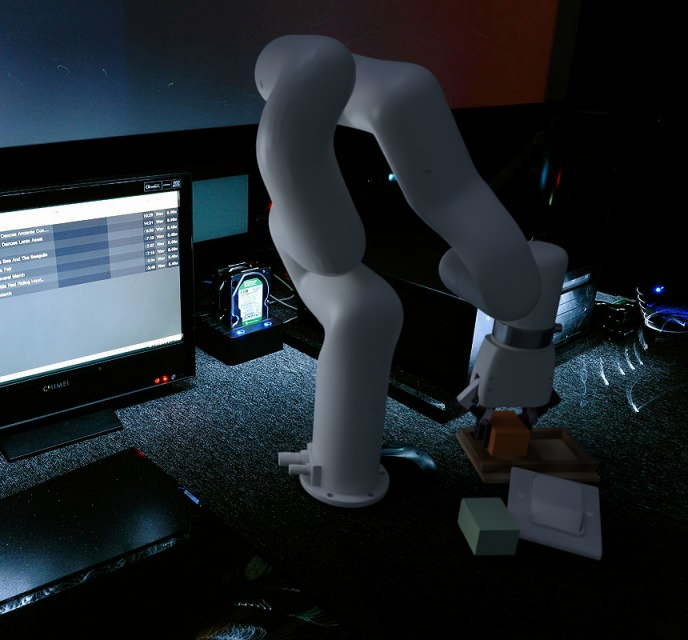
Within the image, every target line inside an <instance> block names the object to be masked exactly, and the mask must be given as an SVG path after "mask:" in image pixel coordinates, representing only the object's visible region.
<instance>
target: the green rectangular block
mask: <svg viewBox="0 0 688 640" xmlns="http://www.w3.org/2000/svg"><path fill="white" fill-rule="evenodd" d="M457 524H458V527H459V528H460V530H461V532H462V534H463V536H464V538H465V540H466V542H467V543H468V546H469V547H470V549H471V551H472V553H473V555H474V556H514V555H516V552H517V547H518V542H519V539H520V538H519V534H520V528H519V526H518V525H517V523H516V522H515V520H514V519H513V517H512V516H511V514H510V512H509V511H508V509H507V506H506V504H505V503H504V501H503V499H502V498H501V497H462V498H461V501H460V507H459V511H458V518H457Z"/></svg>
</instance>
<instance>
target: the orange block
mask: <svg viewBox="0 0 688 640" xmlns="http://www.w3.org/2000/svg"><path fill="white" fill-rule="evenodd" d="M517 415H518V413H516V412H515V410H512V409H509V410H507V409H506V410H503V409H502V410H498V409H497V410H496V409H495V411H494V413H493V415H492V417H491V419H490V421H489V422H490V424H491V425H492V427H491V432H490V437H489V443H488V447H487V450H488V451H489V453H490V454H491V456H526V453H527V448H528V443H529V439H530V434H531V432H530V431H529V430H528V428H527V427H526V426H525V425H524V424H523V422H522V421H521V420H520V419H519V417H518V416H517Z"/></svg>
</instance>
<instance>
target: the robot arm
mask: <svg viewBox="0 0 688 640" xmlns="http://www.w3.org/2000/svg"><path fill="white" fill-rule="evenodd" d="M254 80H255V85H256V88H257V91H258V93H259V94H260V96H261V97H262V99H263V100H264V101H265V104H264V107H263V110H262V112H261V116H260V120H259V124H258V128H257V134H256V142H255V143H256V144H255V150H256V160H257V165H258V168H259V172H260V175H261V178H262V180H263V181H262V182H263V183H264V186H265V187H266V190H267V193H268V195H269V198H270V200H271V202H272V205H271V207H270V210H269V214H268V227H269V232H270V236H271V239H272V241H273V243H274V246H275V248H276V251H277V252H278V255H279V257H280V258H281V260H282V263H283V265H284V267H285V269H286V271H287V273H288V275H289V277H290V279H291V281H292V284H293V285H294V288H295V289H296V291H297V293H298V295H299V297H300V299H301V300H302V302H303V303H304V305H305V306H306V308H307V309H308V310H309V311H310V312H311V313H312V314H313V316H314V317H316V319H317V320H318V322H319V323H320V324H321V325H322V327H323V329H324V339H323V344H322V347H321V350H320V351H319V355H318V357H317V358H318V359H317V362H316V363H317V365H316V373H315V391H314V392H315V393H314V394H315V395H314V408H313V410H314V411H313V426H312V442H307V444H306V449H300V451H299V452H291V451H289V452H288V451H284V452H283V451H282V452H281V451H280V452H278V455H277V457H278V466H280V467H288V475H289V476H290V475H291V476H292V475H294V476H295V475H297V476H298V475H299V481H300V484H301V486H302V487H303V489H304V490H305V491H306V492H307V493H308V494H309V495H310V496H312V497H313V498H315V499H317V500H318V501H320V502H322V503H325V504H327V505H330V506H334V507H339V508H346V509H348V508H349V509H357V508H364V507H368V506H372V505H374V504H376V503H378V502H380V501H381V500H382V499H383V498H384V497H385V496H386V495H387V493H388V490H389V488H390V476H389V472H388V470H387V469H386V468H385V466H384V465H383V464H382V463H381V457H382V449H383V439H384V438H383V437H384V431H385V420H386V413H387V411H386V410H387V404H388V403H387V402H388V395H389V385H390V378H391V377H390V376H391V368H392V362H393V357H394V354H395V350H396V347H397V344H398V341H399V338H400V336H401V335H400V334H401V331H402V328H403V324H404V308H403V305H402V301H401V299H400V296H399V295H398V293H397V292H396V290H395V289H394V288H393V286H392V285H391V284H390V283H388V281H386V280H385V279H384V278H383V277H382V276H380V275H379V274H378V273H377V272H375V271H374V270H373V269H371V268H369V267H368V266H367V265H365V264H364V263H363V262H362V260H363V258H364V256H365V252H366V247H367V238H366V232H365V231H366V230H365V227H364V224H363V222H362V219H361V216H360V215H359V213H358V210H357V208H356V206H355V204H354V201H353V198H352V196H351V194H350V192H349V189H348V187H347V184H346V182H345V179H344V177H343V174H342V171H341V169H340V165H339V162H338V159H337V156H336V153H335V147H334V138H335V132H336V129H337V126H338V125H340V126H344V127H349V128H353V129H357V130H361V131H365V132H367V133H370V134H373V136H374V137H375V140H376V141H377V144H378V145H379V147H380V150H381V151H382V153H383V156H384V157H385V159H386V161H387V163H388V166H389V167H390V169H391V171H392V173H393V175H394V177H395V180H396V181H397V184H398V186H399V188H400V189H401V192H402V194H403V196H404V198H405V200H406V202H407V204H408V205H409V207H410V208H411V209H412V210H413V212H414V213H415V214H416V215H417V216H418V217H419V218H420V219H421V220H422V222H424V223H425V224H426V225H427V226H429V228H430V229H432V230H433V231H434V232H435V233H437V234H438V235H439V236H440V237H441V239H443V240H445V242H446V243H447V244H448V245H449V246H450V247H451V248H449V249H448V250H447V251H446V252H444V255H442V257H441V259H440V261H439V266H438V274H439V278H440V280H441V282H442V283H443V285H444V286H445V287H446V288H447V289H448V290H449V291H451V293H453V294H455V295H456V296H457V297H459V298H460V299H462V300H463V301H465V302H467V303H469V304H470V305H471V306H473V307H475V308H476V309H478V310H479V311H480V312H482V313H483V314H484V315H487V316H488V317H489V318H492V319H493V324H492V329H491V333H486V334H485V335H484V337H483V340H482V341H481V343H480V346H479V349H478V351H477V353H476V354H477V355H476V357H475V361H474V365H473V368H472V372H471V376H470V381H469V385H468V386H467V387H465V389H463V391H461V392H460V393H459V394H458V396H456V400H457V402H458V404H459V405H460V406H461V407H463V408H464V409H466V411H469V412H470V413H471V415H472V416H473V417H475V418H476V419H475V423H474V424H475V425H474V428H475V430H474V436H475V438H476V440H478V441H479V443H480V444H481V446H482V447H483V448H487V447H488V443H489V437H490V432H491V427H492V425H491V424H490V422H489V421H490V419H491V417H492V415H493V413H494V411H495V410H496V409H498V408H501V409H503V408H507V409H508V408H510V409H511V408H520V411H521V412H520V413H517V416H518V417H519V419H520V420H521V421H522V422H523V424H524V425H525V426H526V427H527V428H528V430H529V431H530V432H531V431H532V428H534V427H533V426H534V425H536V424H537V423H538V422H539V419H540V418H541V417H542V416H544V415H545V414H547V413H548V412H549V410H551V409H553V408H555V407H556V406H557V405H560V404H561V403H562V400H563V399H562V398H561V397H560V395H559V394H558V393H557V391H556V389H555V387H554V380H555V373H556V372H555V371H556V347H555V342H554V341H553V340H554V336H555V334H560V333H562V332H563V330H564V326H563V323H561V322H557V317H558V312H559V307H560V303H561V298H562V294H563V290H564V289H563V288H564V284H565V279H566V275H567V270H568V266H569V255H568V253H567V251H566V250H565V249H564V248H563V247H561V246H560V245H557V244H554V243H550V242H545V241H540V240H539V241H538V240H527V238H526V236H525V235H524V233H523V231H522V229H521V228H520V226H519V224H518V223H517V222H516V220H515V219H514V218H513V216H512V215H511V214H510V212H509V211H508V210H507V209H506V207H505V206H504V205H503V203H502V202H501V201H500V199H499V198H498V196H497V195H496V194H495V193H494V191H493V189H491V187H490V186H489V185H488V183H487V182H486V181H485V179H483V178H482V177H481V175H480V174H479V172H478V170H477V168H476V166H475V164H474V162H473V161H472V158H471V155H470V153H469V150H468V148H467V146H466V144H465V142H464V139H463V137H462V134H461V131H460V130H459V128H458V127H459V126H458V124H457V123H456V120H455V117H454V115H453V112H452V111H451V110H452V109H451V108H450V105H449V103H448V101H447V99H446V96H445V94H444V91H443V89H442V87H441V85H440V83H439V82H438V79H437V78H436V76H435V75H434V74H433V73H432V72H431V71H430V70H429V69H427V68H426V67H424V66H423V65H420V64H417V63H414V62H413V63H412V62H406V61H396V60H387V59H379V58H373V57H369V56H365V55H361V54H357V53H353V52H351V51H350V50H349V49H348V47H347V45H345V44H344V43H343V42H341V41H339V40H338V39H336V38H333V37H330V36H327V35H320V34H286V35H283V36H282V35H281V36H279V37H277V38H275V39H273V40H271V42H269V43H267V45H266V46H265V47H264V48H263V49H262V50H261V52H260V54H259V56H257V60H256V63H255V68H254ZM477 396H478V403H477V404H476V403H475V402H474V401H472V400H473V399H474V398H475V397H477ZM530 436H531V434H530Z"/></svg>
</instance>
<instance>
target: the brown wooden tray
mask: <svg viewBox="0 0 688 640" xmlns="http://www.w3.org/2000/svg"><path fill="white" fill-rule="evenodd" d="M474 430H475V427H474V428H473V427H466V428H465V427H461V428H460V429H459V431H456V432H455V437H456V439H457V441H458V443H459V444H460V446H461V447H462V449H463V452H464V453H465V455H466V456H467V457H468V459H469V461H470V463H471V464H472V466H473V467H474V469H475V471H476V473H477V474H478V476H479V477H480V479H481V481H482V482H483V484H510V475H511V469H512V467H517V468H521V469H525V470H529V471H533V472H537V473H542V474H546V475H550V476H554V477H558V478H562V479H566V480H570V481H574V482H578V483H582V484H584V483H600V482H601V476H600V475H599V474H598V473H597V469H598V467H599V463H598V461H596V459H594V457H593V456H592V454H590V453H589V452H588V451H587V449H586V448H585V447H584V446H583V445H582V443H580V442H579V440H578V439H577V438H576V437H575V436H574V435H573V434H572V433H571V431H570V430H569V429H568V428H567V427H565V426H564V427H563V426H562V427H561V426H560V427H558V426H557V427H551V426H550V427H532V431H531V436H530V439H529V443H528V448H527V453H526V456H491V454H490V453H489V451H488V450H487V448H483V447H482V446H481V444H480V443H479V441H478V440H476V438H475V436H474Z"/></svg>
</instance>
